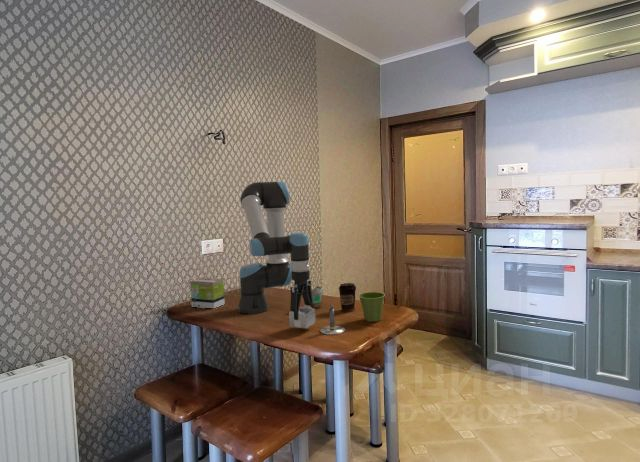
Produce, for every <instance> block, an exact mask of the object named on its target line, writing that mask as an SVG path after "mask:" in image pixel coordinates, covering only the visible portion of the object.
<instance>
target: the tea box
mask: <svg viewBox="0 0 640 462" xmlns="http://www.w3.org/2000/svg"><path fill="white" fill-rule="evenodd" d="M189 283H190V284H189V287H190V288H189V289H190V303H191V308H192V307H197V309H205V308H216V307H219V306H221V305H223V306H225V305H224V304H226V302H225V288H224V287H225V285H224V283H225V282H224V279H223V278H213V277H212V278H211V277H200V278H198V279H194V280H191V281H189ZM221 307H222V306H221ZM219 308H220V307H219ZM216 309H217V308H216Z"/></svg>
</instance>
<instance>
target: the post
mask: <svg viewBox="0 0 640 462" xmlns="http://www.w3.org/2000/svg"><path fill="white" fill-rule="evenodd" d="M329 307H330V308H329V309H328V311H329V312H328V314H329V325H327V326H324V327H321V328H320V330H319V331H320V333H321V334H323V335H326V336H327V335H328V336H329V335H330V336H331V335H332V336H333V335H335V336H337V335H339V334H343V333H344V332H345V330H346V329H345V327H344V326H341V325H335V308H333V307H334V306H333V303H330V305H329Z"/></svg>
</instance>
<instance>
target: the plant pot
mask: <svg viewBox="0 0 640 462" xmlns="http://www.w3.org/2000/svg"><path fill="white" fill-rule="evenodd" d="M385 296H386V294H385V292H378V291H367V292H362V293H359V294H358V296H357V297H358V298H359V300H360V303H361V308H362V312H363V317H364V320H365V321H366V322H369V323H372V322H375V323H376V322H380V321H382V315H383V307H384V306H383V305H384V299H385Z"/></svg>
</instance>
